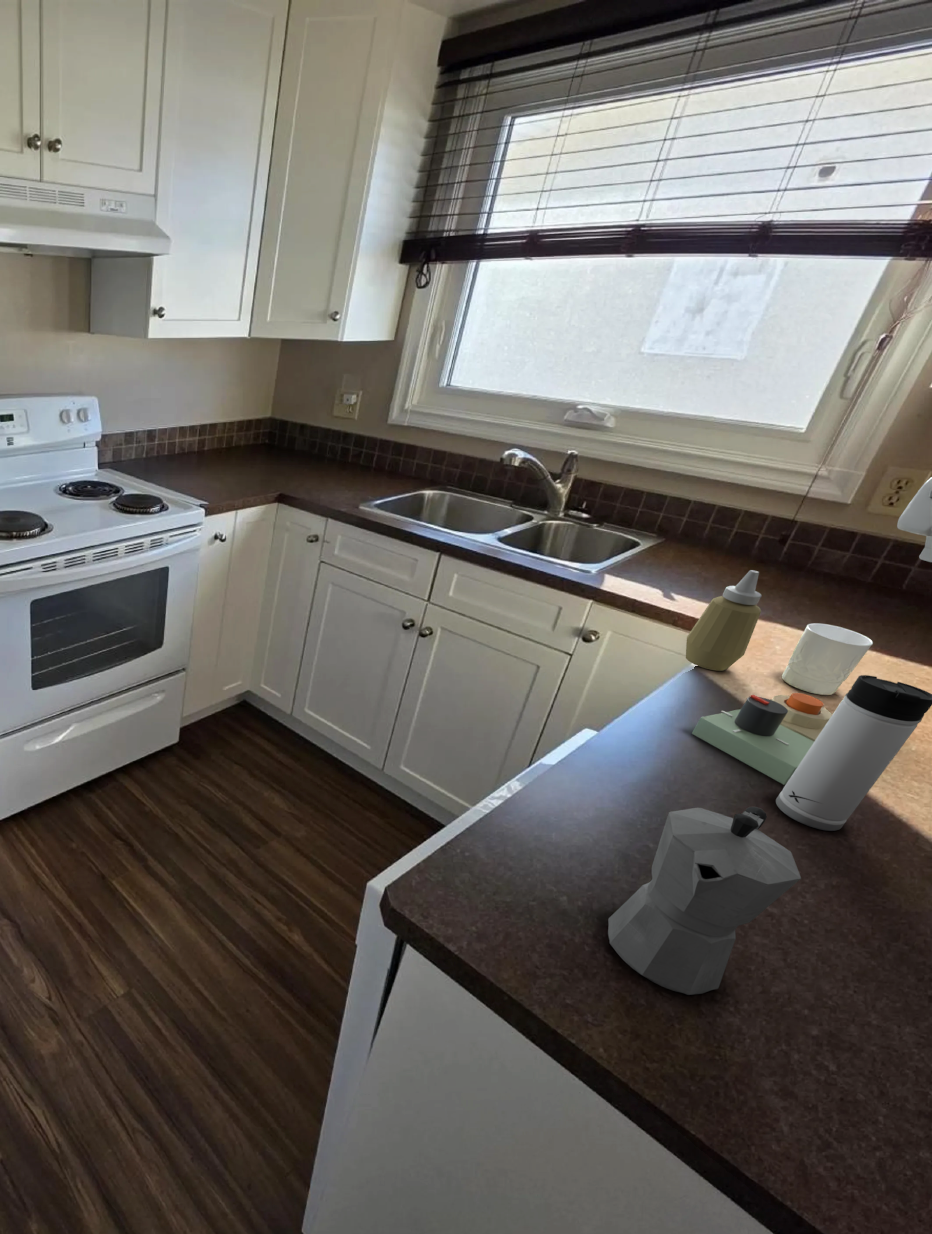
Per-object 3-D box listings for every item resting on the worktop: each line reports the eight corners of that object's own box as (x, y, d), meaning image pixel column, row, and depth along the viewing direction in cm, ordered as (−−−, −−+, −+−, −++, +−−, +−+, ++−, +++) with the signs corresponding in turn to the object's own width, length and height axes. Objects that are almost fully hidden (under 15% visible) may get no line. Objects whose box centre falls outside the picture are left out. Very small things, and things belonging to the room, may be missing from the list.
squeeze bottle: (672, 661, 122) (718, 569, 114) (683, 648, 127) (729, 558, 118) (728, 680, 117) (782, 584, 108) (738, 665, 121) (790, 573, 113)
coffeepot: (692, 1028, 60) (797, 886, 52) (578, 950, 67) (655, 813, 59) (747, 946, 68) (846, 812, 60) (640, 884, 75) (716, 755, 67)
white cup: (773, 682, 116) (804, 631, 112) (780, 668, 121) (809, 618, 116) (837, 703, 111) (871, 650, 106) (840, 687, 116) (874, 635, 111)
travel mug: (780, 819, 85) (871, 686, 76) (770, 791, 90) (854, 662, 81) (847, 840, 82) (951, 705, 73) (833, 810, 87) (928, 679, 78)
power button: (823, 713, 101) (829, 704, 100) (807, 717, 100) (814, 707, 99) (795, 700, 104) (801, 691, 104) (779, 704, 103) (785, 694, 102)
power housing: (860, 748, 100) (875, 726, 98) (821, 758, 97) (836, 736, 95) (774, 708, 109) (787, 687, 107) (736, 716, 106) (749, 694, 105)
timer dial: (781, 734, 97) (797, 709, 95) (759, 738, 96) (774, 713, 94) (748, 717, 101) (762, 692, 99) (726, 720, 100) (740, 696, 98)
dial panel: (831, 772, 94) (843, 754, 93) (783, 784, 92) (796, 766, 90) (734, 722, 105) (744, 705, 103) (689, 732, 102) (699, 715, 100)
